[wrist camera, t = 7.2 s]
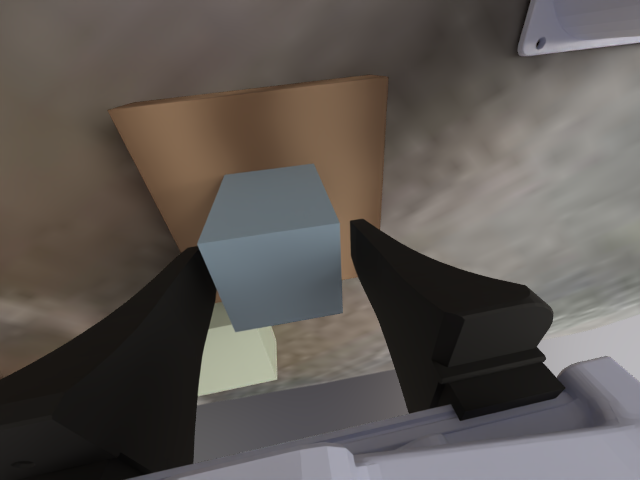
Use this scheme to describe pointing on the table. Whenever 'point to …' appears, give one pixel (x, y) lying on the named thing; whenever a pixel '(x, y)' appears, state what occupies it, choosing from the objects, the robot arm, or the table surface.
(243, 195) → the slate block
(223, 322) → the sage block
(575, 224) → the table surface
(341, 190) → the walnut block
